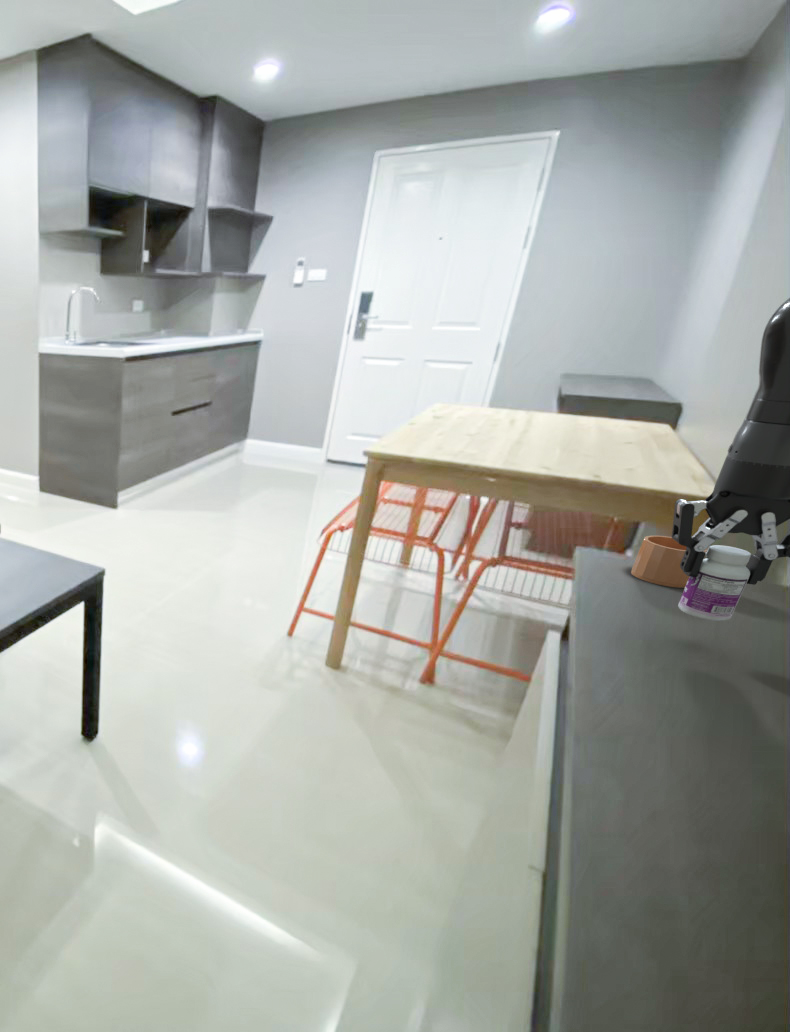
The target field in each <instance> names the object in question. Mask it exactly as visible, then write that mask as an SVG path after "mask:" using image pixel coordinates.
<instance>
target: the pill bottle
mask: <svg viewBox="0 0 790 1032" xmlns="http://www.w3.org/2000/svg"><path fill="white" fill-rule="evenodd" d="M751 554H752V553H751V552H750V551H749V550H746V549H742V548H739V547H734V546H730V545H721V544H720V545H719V544H714V545H713V544H712V545H710V546H709V547H708V548H707V552H706V554H705V557H706V558H705V557H704V559H703V561H702V564H701V566H700V569H699V571H698V573H697V576H696V577H691V576H690V577H689V579H688V581H687V584H686V586H685V588H684V589H683V592H682V594H681V597H680V599H679V601H678V605H677V606H678V609H679V610H680V611H681V612H683V613H685V614H687V615H689V616H692V617H694V618H698V619H701V620H708V621H714V622H715V621H716V622H723V621H729V620H731V618H732V617H733V614H734V612H735V609H736V607H737V605H738V604H739V601H740V599H741V596H742V595H743V593H744V592H743V591H744V590H745V587H746V585H747V581H748V579H749V576H750V571H749V569H748V568H747V567H746V565H747V563H748V562H749V559H750V557H751Z"/></svg>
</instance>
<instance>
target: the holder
mask: <svg viewBox="0 0 790 1032" xmlns="http://www.w3.org/2000/svg"><path fill="white" fill-rule="evenodd" d="M707 550H708V548H707V549H706V550H705V551H704V552H705V553H706V552H707ZM685 551H686V546H684V545H680V544H679V543H678V542H676V541H675V540H674V539H673V538H672V536H666V535H647V536H644V538H643V540H642V543H641V545H640V548H639V550H638V552H637V555H636V557H635V560H634V562H633V565H632V568H631V571H630V574H631V575H632V576H634V577H635V578H637V579H639V580H642V581H644V582H647V583H651V584H655V585H659V586H664V587H669V588H679V589H680V588H681V589H683V588H684V589H685V586H686V584H687V581H688V579H689V577H690V576H687V575H686V574H685V573H684V572H683V570H682V569H681V568H680V563H681V561H682V558H683V556H684V553H685Z"/></svg>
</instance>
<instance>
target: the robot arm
mask: <svg viewBox="0 0 790 1032" xmlns="http://www.w3.org/2000/svg"><path fill="white" fill-rule="evenodd" d="M758 361H759V363H758V385H757V388H756V390H755V392H754V395H753V397H752V399H751V402H750V405H749V407H748V409H747V412H746V414H745V418H744V419H743V421H742V423H741V425H740V426H739V428H738V429H737V431H736V433H735V435H734V437H733V438H732V442H731V443H730V445H729V446H728V448H727V454H726V457H725V459H724V461H723V464H722V467H721V469H720V472H719V474H718V476H717V479H716V481H715V483H714V487H713V490H712V492H711V493H710V494H709V495H708V496H707V497H706V498H704V500H686V499H684V498H680V499H677V500H676V501H675V504H674V511H673V522H672V529H671V530H672V531H671V537H672V538H673V539H674V540H675V541H676V542H678V543H679V544H680V545H684V546H686V551H685V553H684V556H683V558H682V561H681V563H680V568H681V569H682V570H683V572H684V573H685V574H686V575H687V576H691V577H696V576H697V573H698V571H699V569H700V566H701V564H702V561H703V559H705V557H706V553H705V552H704V551H705V550H706V549H707V550H708V548H709V547H710V546H712V545H713V544H714V542H716V541H718V540H721V539H722V538H723V537H724V536H725V535H726V534H727V533H728V534H746V535H748V536H751V537H752V539H753V543H754V551H755V553H754V554H753V553H751V557H750V559H749V562H748V563H747V564H745V567H747V568H748V569H749V571H750V576H749V579H748V581H747V583H746V585H752V586H753V585H754V586H755V585H757V584H758V582H762V581H763V580H765V578H766V576H767V574H768V572H769V569H770V567H771V565H772V563H773V562H774V561H775V560H776V559H779V558H790V529H789V530H787V532H786V533H785V535H784V536H783V537H782V538H781V540H780V541H779V539H778V531H777V527H778V526H780V525H782V524H784V523H785V522H787V521H789V520H790V297H788V298H787V299H786V300H784V302H782V303H781V304H780V305H779V306H778V307H777V308H776V309H775V310H774V311H773V313H772V314H771V316H770V317H769V318H768V321H767V323H766V324H765V327H764V329H763V334H762V337H761V342H760V350H759V360H758ZM702 511H706V513H707V515H708V518H707V519H706V520H705V521H704V522H703V523H702V524H701V525H700V526H699V527H698V530H697V531H696V532H695V533H694V534H692V533H693V525H694V518H696V517H699V515H700V513H701V512H702Z"/></svg>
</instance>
